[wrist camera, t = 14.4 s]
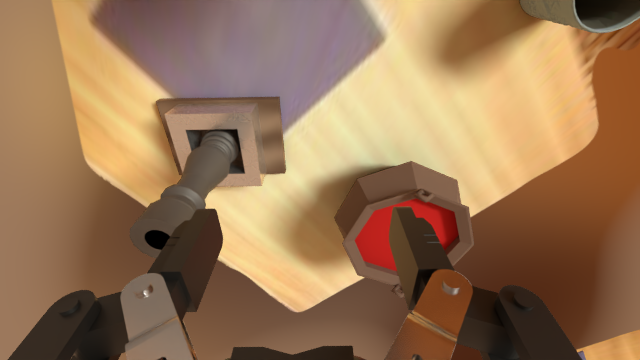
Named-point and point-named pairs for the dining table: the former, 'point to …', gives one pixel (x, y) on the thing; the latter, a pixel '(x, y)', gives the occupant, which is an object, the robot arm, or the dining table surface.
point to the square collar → (238, 116)
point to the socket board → (268, 124)
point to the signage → (582, 355)
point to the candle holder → (187, 190)
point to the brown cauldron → (376, 210)
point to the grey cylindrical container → (585, 13)
